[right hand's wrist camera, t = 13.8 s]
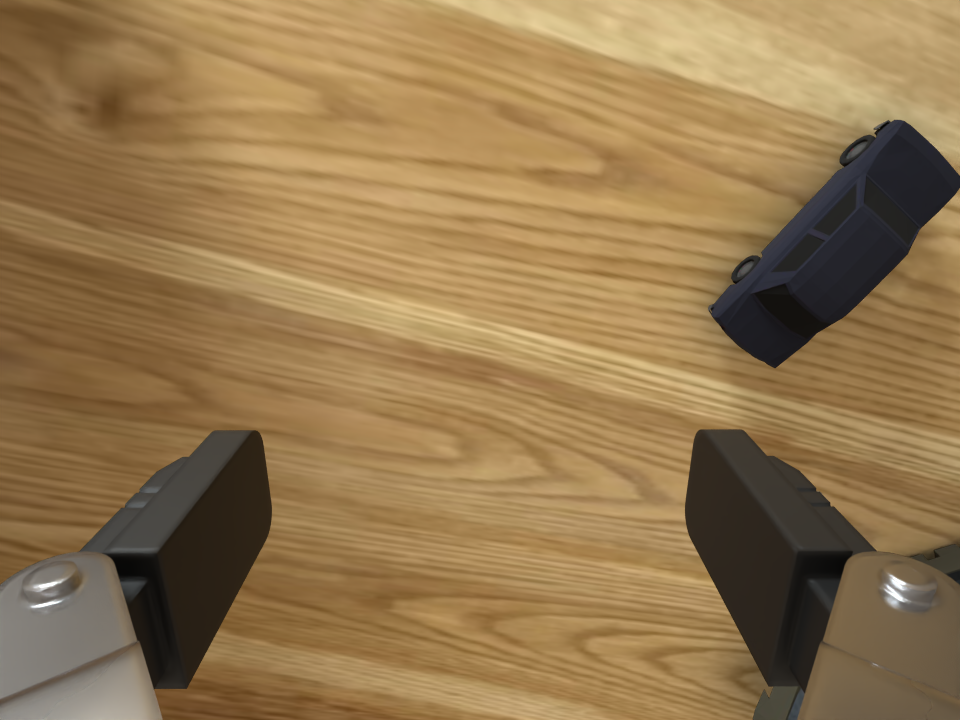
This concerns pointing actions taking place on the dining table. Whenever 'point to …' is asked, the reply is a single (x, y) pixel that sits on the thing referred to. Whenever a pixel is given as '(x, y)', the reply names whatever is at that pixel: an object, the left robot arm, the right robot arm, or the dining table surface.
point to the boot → (784, 703)
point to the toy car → (837, 243)
